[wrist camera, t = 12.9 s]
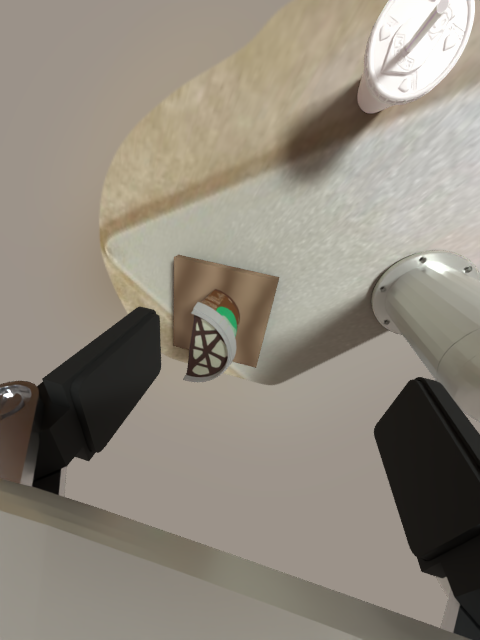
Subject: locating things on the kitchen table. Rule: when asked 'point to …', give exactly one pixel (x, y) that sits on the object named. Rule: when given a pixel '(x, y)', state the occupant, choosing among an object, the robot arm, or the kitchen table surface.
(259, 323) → the tan square plate
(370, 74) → the smoothie
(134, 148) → the kitchen table surface
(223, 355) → the food container
